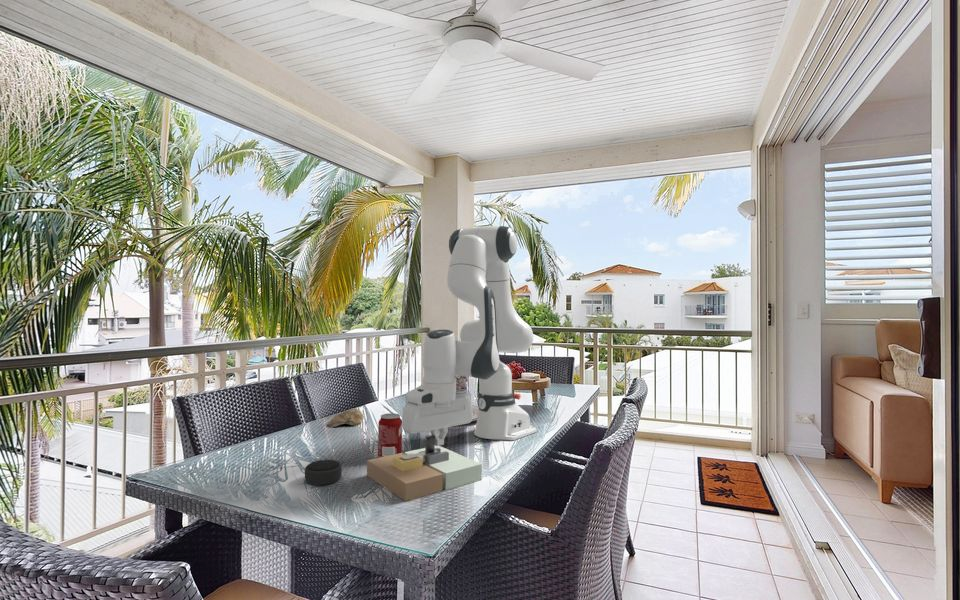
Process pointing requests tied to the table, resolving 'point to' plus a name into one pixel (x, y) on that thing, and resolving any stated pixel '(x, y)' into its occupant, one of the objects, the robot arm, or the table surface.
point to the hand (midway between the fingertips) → (438, 444)
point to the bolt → (428, 450)
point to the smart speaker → (323, 472)
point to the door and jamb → (423, 472)
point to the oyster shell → (347, 418)
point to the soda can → (389, 435)
